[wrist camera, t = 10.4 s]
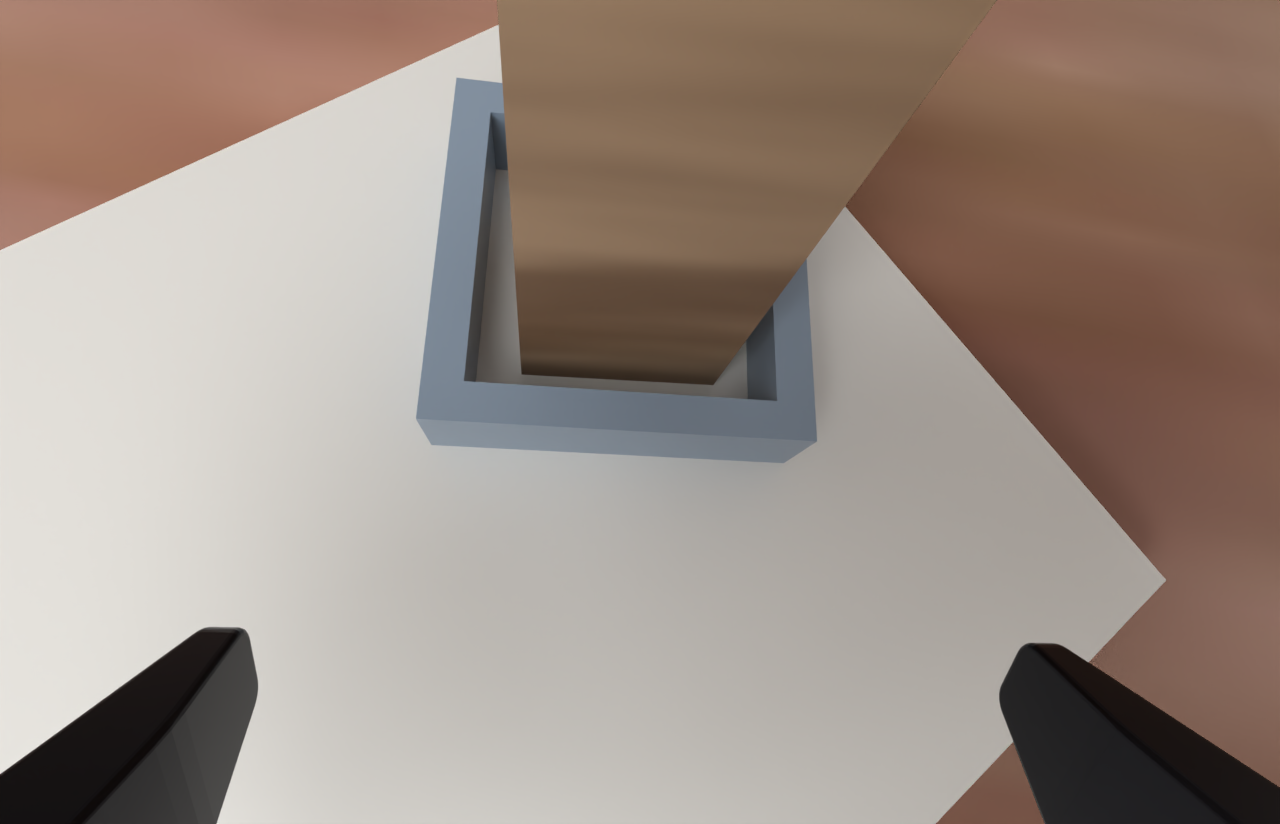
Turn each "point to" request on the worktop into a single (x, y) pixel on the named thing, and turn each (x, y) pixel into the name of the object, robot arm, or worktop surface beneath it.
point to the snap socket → (574, 416)
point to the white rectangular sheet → (507, 518)
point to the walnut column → (692, 162)
